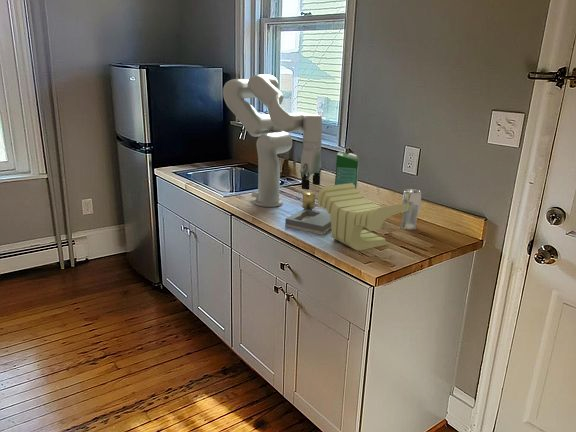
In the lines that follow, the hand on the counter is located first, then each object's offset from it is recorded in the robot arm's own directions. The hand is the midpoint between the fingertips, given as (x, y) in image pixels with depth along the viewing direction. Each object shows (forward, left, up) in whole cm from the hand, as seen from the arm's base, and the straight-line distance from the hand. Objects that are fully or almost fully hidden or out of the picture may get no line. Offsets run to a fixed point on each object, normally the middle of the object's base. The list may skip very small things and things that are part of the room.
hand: (310, 186), depth 198 cm
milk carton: (+9, +16, -12) cm, 22 cm away
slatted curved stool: (+29, -20, -12) cm, 37 cm away
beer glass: (+40, +8, -12) cm, 43 cm away
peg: (-1, 0, -12) cm, 12 cm away
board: (+7, -11, -12) cm, 18 cm away
